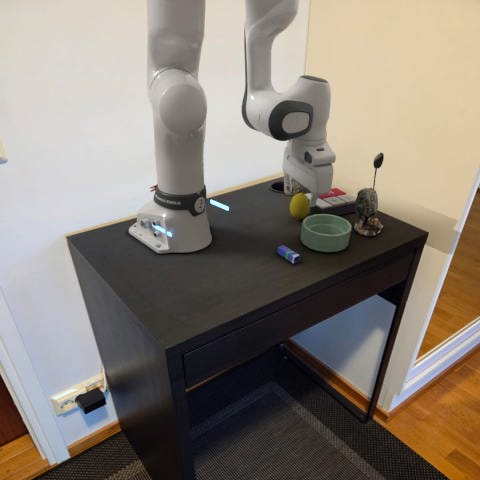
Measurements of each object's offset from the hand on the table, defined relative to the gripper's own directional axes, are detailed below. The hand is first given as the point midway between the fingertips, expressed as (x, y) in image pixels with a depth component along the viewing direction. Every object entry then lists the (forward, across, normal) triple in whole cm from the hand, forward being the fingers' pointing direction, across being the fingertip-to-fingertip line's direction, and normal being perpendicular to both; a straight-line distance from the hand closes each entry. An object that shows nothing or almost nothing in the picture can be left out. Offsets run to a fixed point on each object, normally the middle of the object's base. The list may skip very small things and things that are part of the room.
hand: (302, 198), depth 121 cm
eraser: (+6, +18, -14) cm, 23 cm away
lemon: (+6, 0, -1) cm, 6 cm away
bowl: (+6, +14, -1) cm, 15 cm away
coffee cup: (+6, -19, +7) cm, 21 cm away
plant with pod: (+7, +12, +14) cm, 19 cm away
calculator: (+7, -3, +11) cm, 13 cm away
